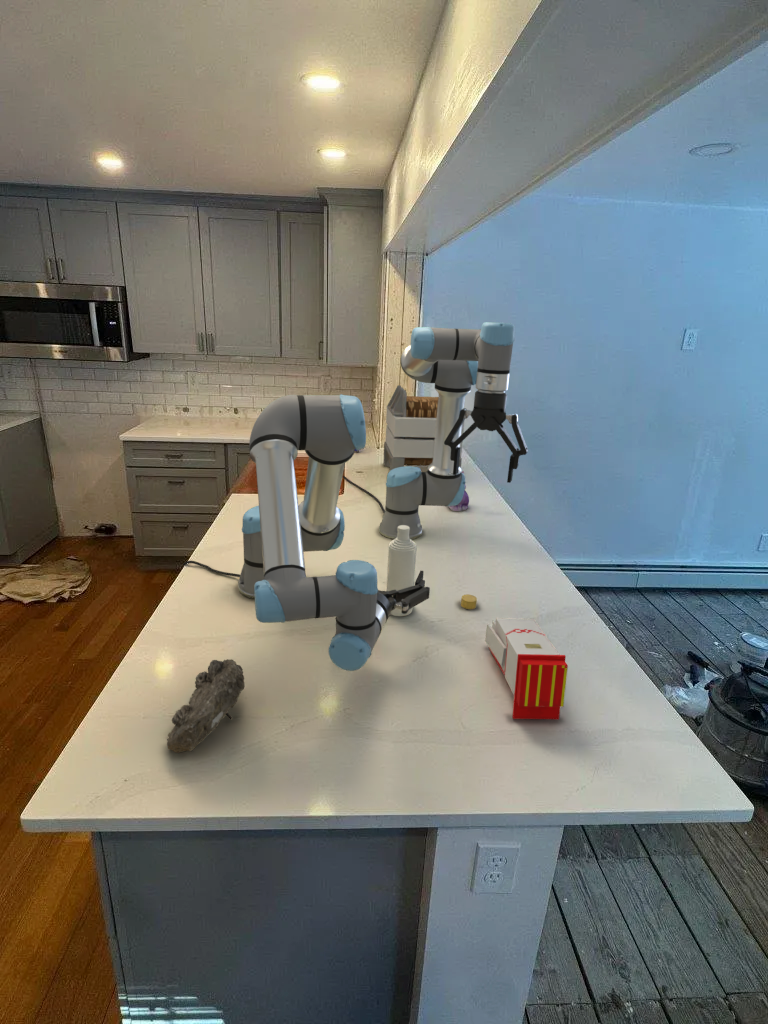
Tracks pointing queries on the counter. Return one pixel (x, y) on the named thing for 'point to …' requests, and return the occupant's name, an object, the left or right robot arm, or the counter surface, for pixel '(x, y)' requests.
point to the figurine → (463, 504)
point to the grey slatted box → (411, 430)
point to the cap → (468, 601)
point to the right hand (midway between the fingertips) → (482, 477)
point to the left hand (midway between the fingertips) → (393, 571)
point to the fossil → (206, 705)
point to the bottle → (401, 564)
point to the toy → (529, 667)
